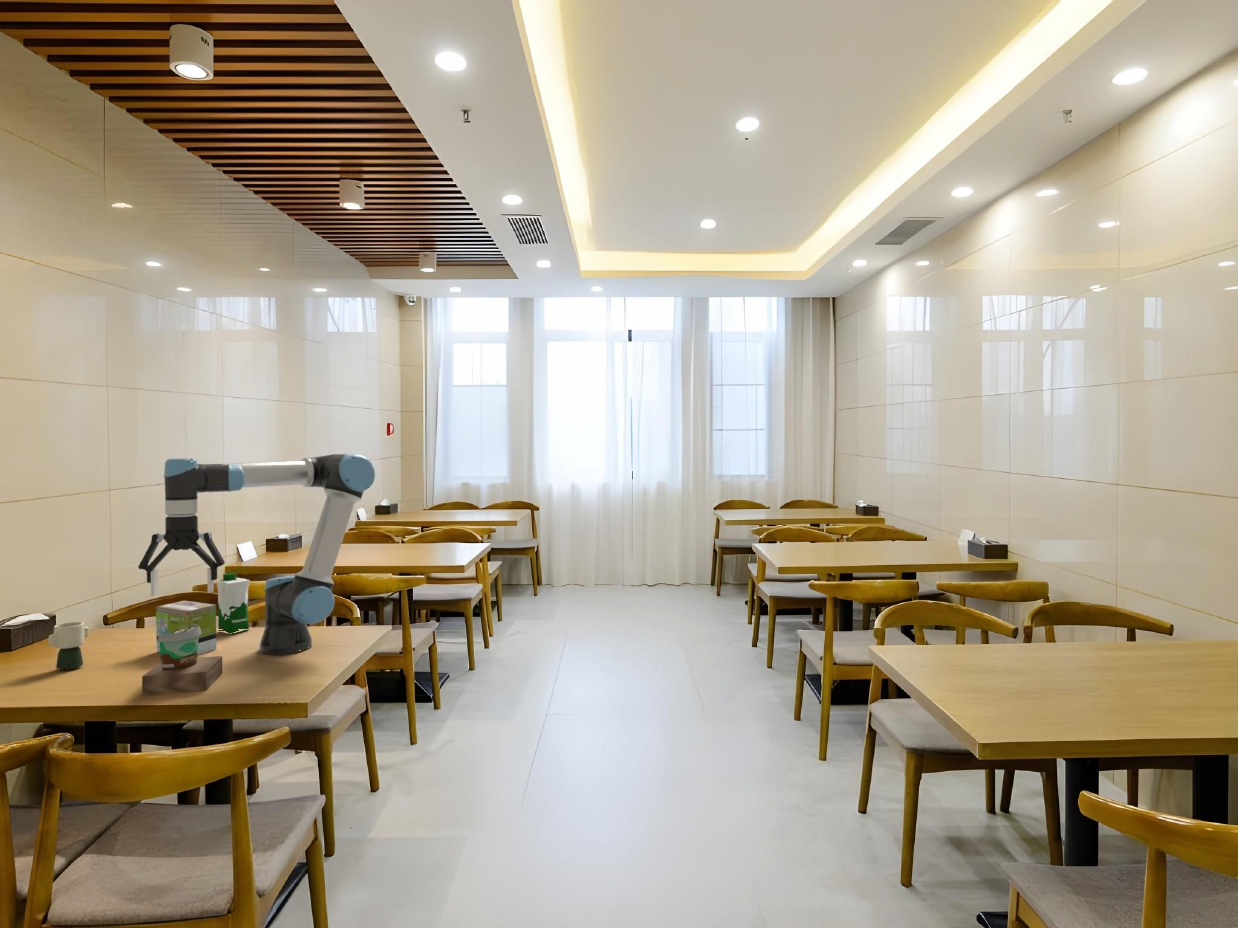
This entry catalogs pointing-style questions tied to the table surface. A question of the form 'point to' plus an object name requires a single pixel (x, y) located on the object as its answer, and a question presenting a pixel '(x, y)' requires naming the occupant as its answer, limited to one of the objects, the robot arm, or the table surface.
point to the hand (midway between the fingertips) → (182, 593)
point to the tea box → (188, 621)
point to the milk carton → (232, 603)
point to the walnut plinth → (182, 677)
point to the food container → (179, 648)
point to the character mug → (69, 643)
